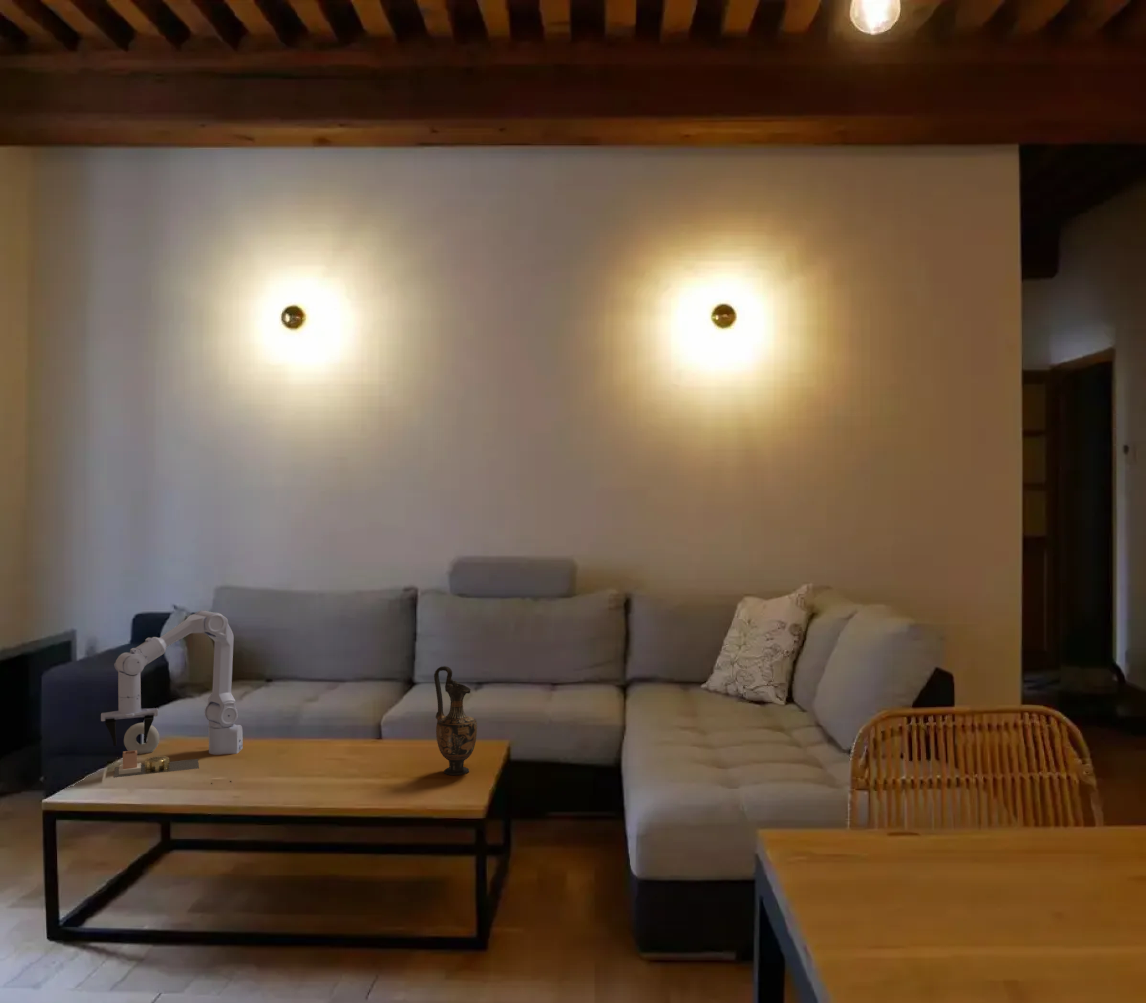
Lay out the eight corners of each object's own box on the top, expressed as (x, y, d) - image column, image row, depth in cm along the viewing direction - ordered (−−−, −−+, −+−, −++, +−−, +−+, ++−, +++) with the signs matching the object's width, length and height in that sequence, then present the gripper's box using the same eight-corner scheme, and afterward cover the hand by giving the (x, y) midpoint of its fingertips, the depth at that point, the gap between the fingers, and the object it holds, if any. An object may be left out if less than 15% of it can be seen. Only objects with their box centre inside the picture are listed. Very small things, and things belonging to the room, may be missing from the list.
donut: (122, 758, 283) (122, 724, 283) (125, 754, 287) (125, 722, 286) (158, 756, 285) (158, 723, 285) (160, 753, 289) (160, 720, 289)
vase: (469, 778, 264) (469, 671, 263) (427, 776, 266) (427, 669, 266) (482, 766, 275) (482, 664, 275) (441, 764, 278) (441, 662, 277)
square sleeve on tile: (141, 766, 271) (141, 748, 271) (140, 772, 266) (140, 753, 266) (119, 769, 269) (119, 750, 269) (118, 774, 264) (118, 756, 264)
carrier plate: (197, 762, 279) (197, 748, 279) (199, 771, 270) (199, 757, 270) (115, 771, 270) (115, 757, 270) (113, 781, 261) (113, 766, 261)
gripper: (100, 701, 260) (100, 750, 261) (157, 696, 266) (158, 744, 266) (101, 695, 267) (102, 743, 267) (157, 691, 273) (158, 738, 273)
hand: (130, 743), depth 267 cm, fingers open, 7 cm apart
